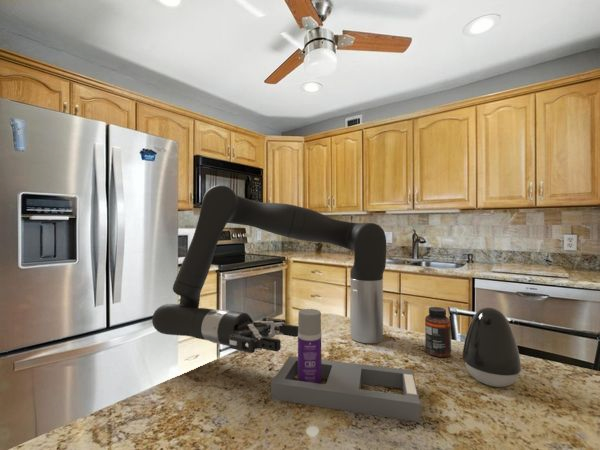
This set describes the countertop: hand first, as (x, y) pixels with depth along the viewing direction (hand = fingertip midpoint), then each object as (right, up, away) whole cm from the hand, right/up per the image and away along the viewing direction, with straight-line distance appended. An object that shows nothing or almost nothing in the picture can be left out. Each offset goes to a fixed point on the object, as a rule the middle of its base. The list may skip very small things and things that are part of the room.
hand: (289, 338), depth 62 cm
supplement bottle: (+37, -9, +14) cm, 41 cm away
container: (+4, -9, -2) cm, 10 cm away
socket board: (+11, -9, -4) cm, 15 cm away
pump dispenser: (+42, -9, 0) cm, 43 cm away
